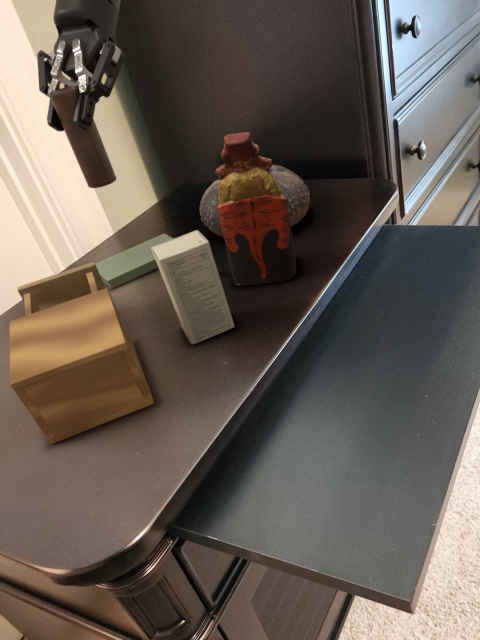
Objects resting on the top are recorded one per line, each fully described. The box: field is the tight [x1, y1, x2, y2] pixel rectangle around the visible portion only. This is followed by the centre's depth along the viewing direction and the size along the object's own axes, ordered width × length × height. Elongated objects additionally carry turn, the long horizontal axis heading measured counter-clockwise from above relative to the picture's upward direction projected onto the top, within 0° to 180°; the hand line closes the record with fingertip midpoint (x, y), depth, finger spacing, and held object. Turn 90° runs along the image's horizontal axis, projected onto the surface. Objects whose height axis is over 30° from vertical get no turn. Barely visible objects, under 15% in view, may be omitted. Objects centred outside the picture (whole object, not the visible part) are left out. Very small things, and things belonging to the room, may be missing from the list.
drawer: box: [16, 261, 107, 316], centre depth 70 cm, size 17×10×7 cm, turn 24°
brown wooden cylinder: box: [49, 85, 117, 189], centre depth 72 cm, size 4×4×12 cm
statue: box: [214, 131, 297, 287], centre depth 71 cm, size 12×8×20 cm, turn 86°
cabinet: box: [9, 287, 155, 445], centre depth 60 cm, size 14×12×9 cm
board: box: [95, 233, 174, 290], centre depth 86 cm, size 14×8×2 cm, turn 128°
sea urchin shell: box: [199, 164, 311, 239], centre depth 89 cm, size 19×19×10 cm
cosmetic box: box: [151, 229, 235, 345], centre depth 64 cm, size 6×4×12 cm
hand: (68, 127), depth 70 cm, fingers closed on brown wooden cylinder, 4 cm apart
